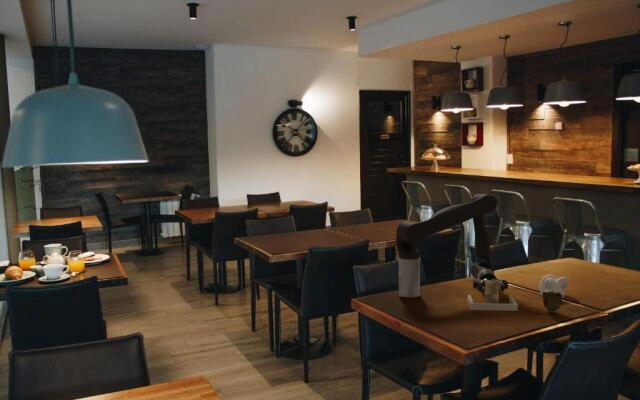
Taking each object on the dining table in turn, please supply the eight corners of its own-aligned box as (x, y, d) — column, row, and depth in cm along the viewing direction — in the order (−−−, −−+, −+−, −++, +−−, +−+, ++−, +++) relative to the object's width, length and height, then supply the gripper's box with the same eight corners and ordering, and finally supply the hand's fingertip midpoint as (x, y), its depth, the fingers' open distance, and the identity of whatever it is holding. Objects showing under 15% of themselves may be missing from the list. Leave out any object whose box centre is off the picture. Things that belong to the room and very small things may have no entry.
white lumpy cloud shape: (534, 296, 252) (534, 276, 251) (544, 291, 261) (545, 271, 260) (560, 301, 244) (560, 280, 243) (570, 295, 253) (571, 275, 252)
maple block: (486, 306, 239) (486, 283, 238) (484, 303, 244) (484, 280, 243) (498, 307, 238) (498, 283, 237) (496, 303, 243) (497, 280, 242)
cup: (563, 316, 225) (564, 296, 224) (543, 315, 226) (544, 295, 225) (559, 310, 232) (560, 291, 231) (540, 309, 233) (541, 290, 232)
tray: (470, 309, 236) (470, 303, 235) (467, 300, 248) (467, 295, 248) (517, 310, 233) (517, 304, 233) (511, 301, 246) (512, 295, 245)
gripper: (470, 270, 255) (474, 279, 240) (503, 270, 253) (510, 280, 237) (470, 286, 256) (474, 297, 240) (503, 287, 254) (509, 297, 238)
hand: (492, 288), depth 239 cm, fingers open, 8 cm apart
